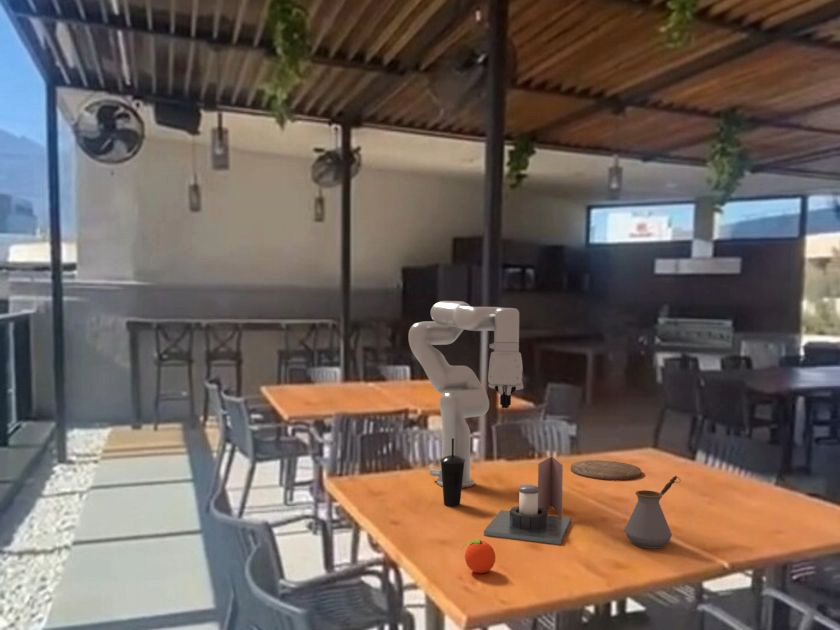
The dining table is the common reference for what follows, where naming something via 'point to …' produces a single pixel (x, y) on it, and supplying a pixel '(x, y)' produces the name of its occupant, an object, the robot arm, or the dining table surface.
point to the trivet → (605, 470)
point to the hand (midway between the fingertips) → (505, 407)
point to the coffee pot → (649, 520)
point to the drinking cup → (452, 478)
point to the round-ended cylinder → (528, 499)
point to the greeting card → (550, 484)
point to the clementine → (479, 556)
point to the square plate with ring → (529, 526)
